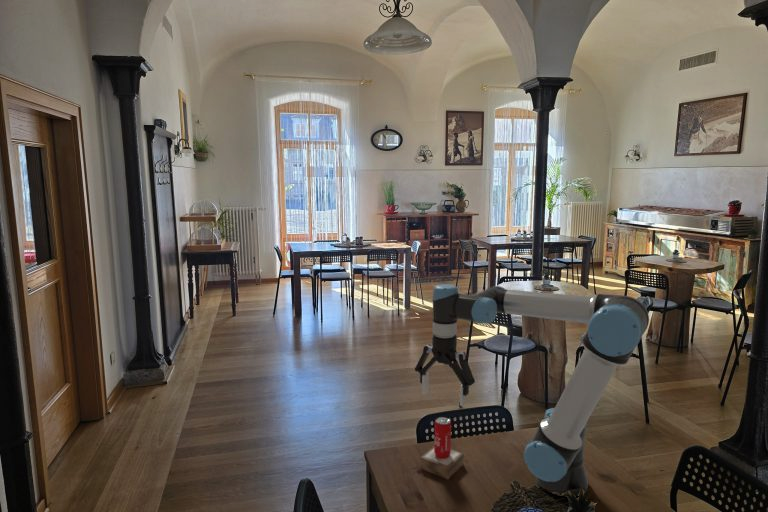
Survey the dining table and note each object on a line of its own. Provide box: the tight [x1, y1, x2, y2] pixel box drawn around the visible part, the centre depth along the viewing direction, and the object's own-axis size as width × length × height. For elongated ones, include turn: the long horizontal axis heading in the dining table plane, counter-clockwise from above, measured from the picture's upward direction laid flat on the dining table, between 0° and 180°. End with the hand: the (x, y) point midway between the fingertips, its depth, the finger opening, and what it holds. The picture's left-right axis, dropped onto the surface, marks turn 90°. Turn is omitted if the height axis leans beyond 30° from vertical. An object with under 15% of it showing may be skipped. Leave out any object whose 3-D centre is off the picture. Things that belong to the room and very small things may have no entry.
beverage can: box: [433, 416, 452, 459], centre depth 164 cm, size 5×5×12 cm
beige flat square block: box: [420, 446, 464, 480], centre depth 166 cm, size 10×10×4 cm
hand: (443, 398), depth 162 cm, fingers open, 13 cm apart
